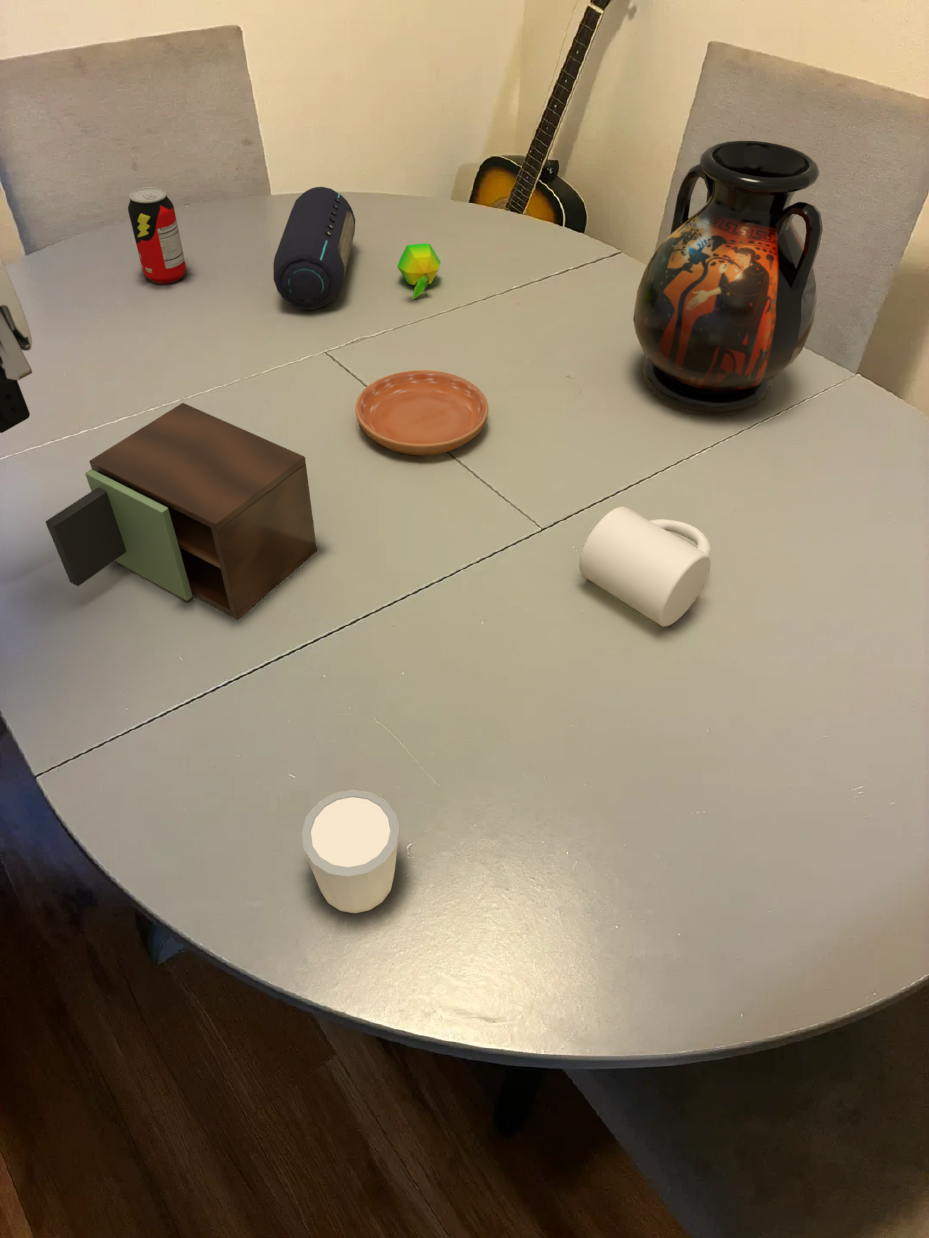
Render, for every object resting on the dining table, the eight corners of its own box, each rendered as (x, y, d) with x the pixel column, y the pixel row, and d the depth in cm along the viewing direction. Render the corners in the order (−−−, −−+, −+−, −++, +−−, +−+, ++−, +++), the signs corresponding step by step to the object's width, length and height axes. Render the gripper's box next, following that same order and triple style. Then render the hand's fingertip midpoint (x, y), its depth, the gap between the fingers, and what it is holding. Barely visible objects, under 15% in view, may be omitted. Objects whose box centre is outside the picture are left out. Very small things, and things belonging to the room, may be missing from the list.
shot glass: (379, 934, 64) (375, 889, 59) (294, 902, 66) (283, 855, 61) (415, 854, 69) (414, 805, 64) (335, 826, 70) (328, 776, 65)
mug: (654, 641, 85) (670, 581, 79) (573, 589, 89) (583, 529, 84) (723, 581, 91) (742, 521, 85) (644, 535, 96) (658, 475, 90)
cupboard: (237, 619, 85) (215, 524, 77) (121, 556, 91) (88, 460, 82) (317, 550, 92) (305, 456, 84) (204, 495, 98) (182, 402, 89)
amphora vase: (588, 377, 117) (620, 151, 97) (691, 328, 127) (740, 113, 107) (718, 453, 106) (785, 215, 86) (820, 392, 116) (902, 166, 96)
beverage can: (174, 263, 137) (156, 182, 128) (195, 278, 134) (179, 195, 125) (136, 275, 134) (116, 193, 125) (157, 290, 131) (138, 207, 122)
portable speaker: (343, 320, 126) (338, 250, 119) (273, 318, 126) (263, 248, 119) (359, 244, 143) (355, 179, 136) (297, 242, 143) (290, 177, 136)
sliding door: (140, 638, 83) (109, 549, 75) (68, 596, 87) (30, 506, 78) (193, 596, 87) (168, 507, 79) (121, 557, 91) (91, 468, 82)
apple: (410, 225, 131) (428, 249, 125) (441, 249, 135) (459, 274, 130) (381, 264, 134) (397, 290, 128) (412, 286, 138) (429, 313, 132)
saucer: (423, 482, 101) (423, 461, 99) (329, 426, 108) (327, 404, 106) (514, 425, 109) (515, 404, 107) (421, 376, 116) (421, 355, 114)
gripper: (-199, 188, 62) (-87, 414, 75) (-65, 244, 56) (31, 476, 70) (-100, 156, 66) (-11, 375, 79) (33, 205, 61) (105, 430, 74)
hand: (8, 422), depth 74 cm, fingers closed
